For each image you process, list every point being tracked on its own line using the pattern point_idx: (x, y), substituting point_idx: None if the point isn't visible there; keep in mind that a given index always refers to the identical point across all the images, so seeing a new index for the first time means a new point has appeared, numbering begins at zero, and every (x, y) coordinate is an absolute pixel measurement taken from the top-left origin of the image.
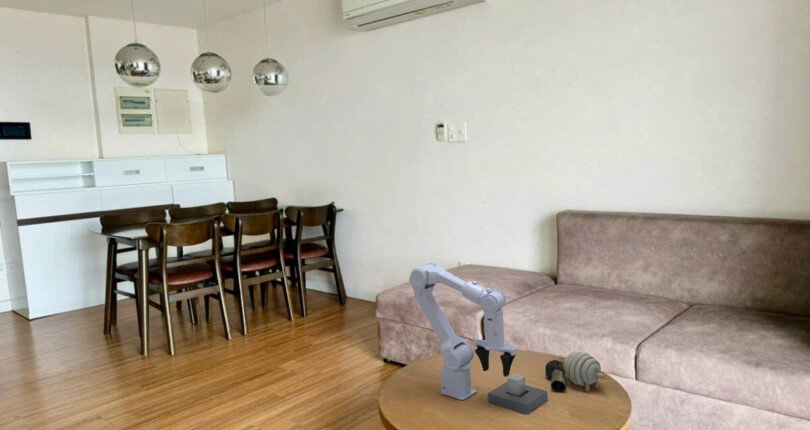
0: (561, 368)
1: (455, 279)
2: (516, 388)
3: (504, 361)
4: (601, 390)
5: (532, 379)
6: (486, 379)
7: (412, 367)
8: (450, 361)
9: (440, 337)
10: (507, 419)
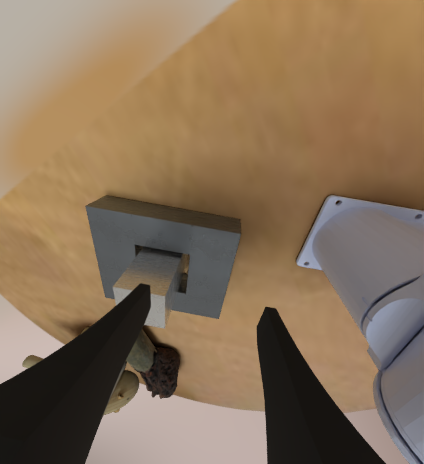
0: (142, 376)
1: None
2: (139, 265)
3: (38, 377)
4: (75, 334)
5: (197, 342)
6: (293, 324)
7: None
8: None
9: None
10: (130, 135)
